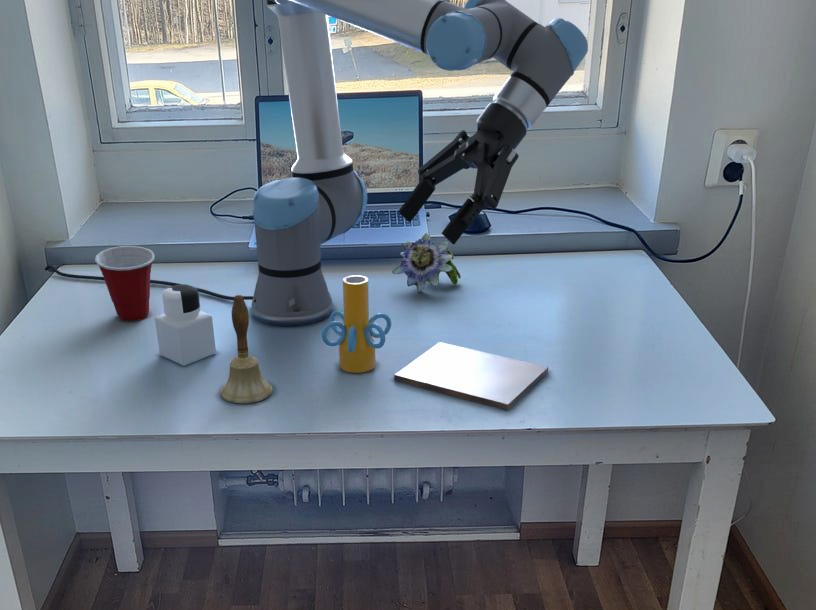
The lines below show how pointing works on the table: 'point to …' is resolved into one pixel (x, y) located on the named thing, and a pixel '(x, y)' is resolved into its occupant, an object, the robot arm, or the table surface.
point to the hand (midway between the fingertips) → (424, 227)
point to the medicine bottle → (184, 326)
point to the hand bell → (244, 364)
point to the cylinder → (356, 328)
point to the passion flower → (426, 263)
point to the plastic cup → (127, 279)
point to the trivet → (472, 375)
